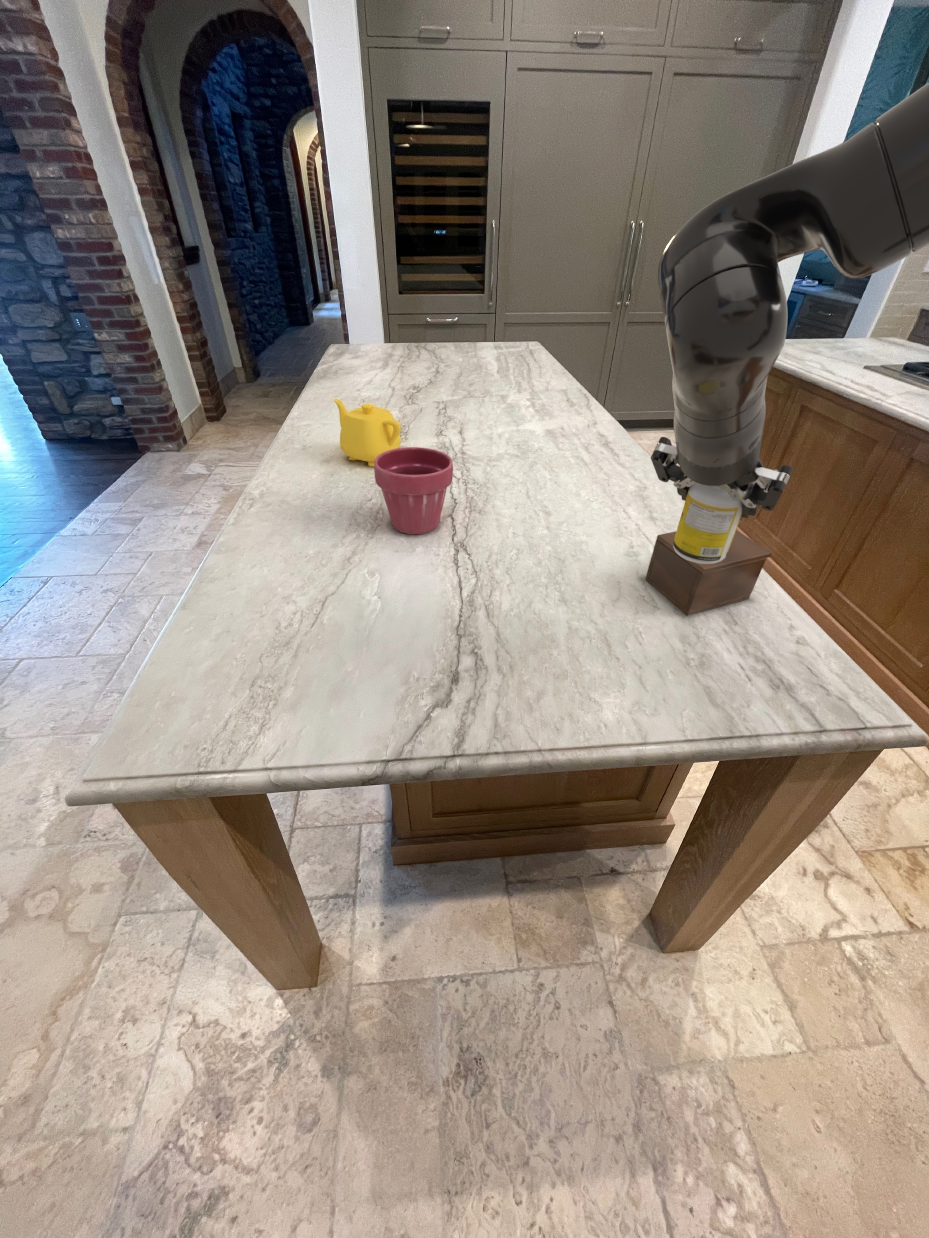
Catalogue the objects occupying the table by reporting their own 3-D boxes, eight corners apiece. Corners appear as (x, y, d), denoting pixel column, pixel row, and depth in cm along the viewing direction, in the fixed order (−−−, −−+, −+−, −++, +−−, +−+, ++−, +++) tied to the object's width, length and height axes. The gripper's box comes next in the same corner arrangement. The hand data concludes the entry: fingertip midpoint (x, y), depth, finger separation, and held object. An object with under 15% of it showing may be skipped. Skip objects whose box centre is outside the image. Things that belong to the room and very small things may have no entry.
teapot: (357, 440, 139) (352, 390, 131) (419, 457, 131) (417, 405, 123) (320, 455, 130) (312, 403, 123) (383, 475, 122) (379, 420, 114)
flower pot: (442, 503, 111) (442, 443, 103) (460, 536, 101) (461, 471, 93) (374, 511, 108) (368, 449, 100) (385, 545, 98) (379, 479, 90)
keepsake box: (703, 565, 95) (717, 526, 90) (748, 599, 87) (766, 558, 82) (644, 579, 91) (656, 539, 86) (687, 615, 83) (702, 573, 78)
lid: (720, 525, 90) (722, 521, 89) (770, 557, 82) (772, 552, 82) (656, 539, 86) (657, 534, 85) (702, 573, 78) (704, 569, 78)
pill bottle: (704, 537, 71) (733, 451, 64) (736, 562, 66) (771, 472, 59) (661, 543, 69) (686, 456, 62) (691, 569, 64) (721, 478, 57)
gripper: (820, 408, 47) (795, 490, 61) (661, 379, 53) (673, 459, 68) (783, 485, 47) (766, 549, 61) (628, 446, 53) (647, 512, 68)
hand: (717, 501), depth 65 cm, fingers closed on pill bottle, 6 cm apart
